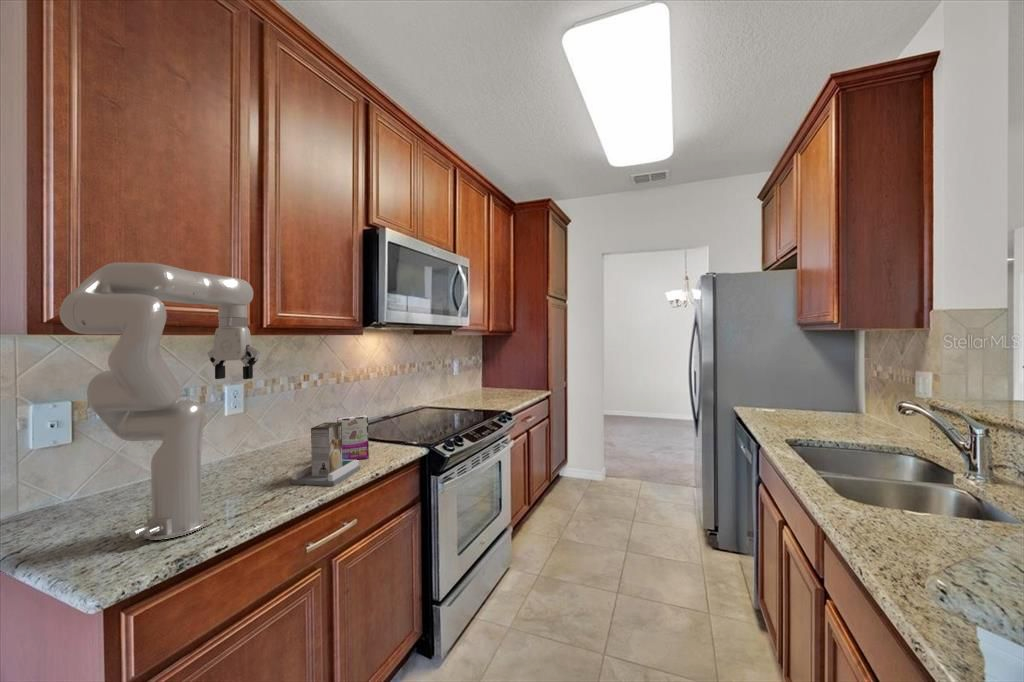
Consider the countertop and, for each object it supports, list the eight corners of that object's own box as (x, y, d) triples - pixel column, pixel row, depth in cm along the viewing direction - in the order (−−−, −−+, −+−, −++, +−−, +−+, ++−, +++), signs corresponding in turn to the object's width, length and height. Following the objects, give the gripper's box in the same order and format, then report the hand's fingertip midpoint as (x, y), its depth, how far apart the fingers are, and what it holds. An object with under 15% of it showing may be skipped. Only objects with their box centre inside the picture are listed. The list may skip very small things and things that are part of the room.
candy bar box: (367, 455, 162) (367, 414, 162) (369, 458, 158) (368, 416, 157) (337, 459, 157) (336, 416, 157) (337, 462, 153) (337, 419, 153)
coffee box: (325, 467, 142) (324, 421, 142) (343, 468, 142) (342, 422, 142) (310, 476, 133) (310, 427, 133) (330, 477, 132) (329, 427, 132)
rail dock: (334, 486, 128) (333, 475, 128) (290, 483, 131) (290, 473, 131) (360, 469, 144) (360, 459, 144) (321, 468, 146) (321, 458, 146)
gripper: (198, 323, 124) (198, 379, 124) (248, 323, 122) (249, 380, 122) (219, 324, 131) (219, 377, 132) (267, 323, 129) (268, 377, 129)
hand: (234, 378), depth 127 cm, fingers open, 9 cm apart
